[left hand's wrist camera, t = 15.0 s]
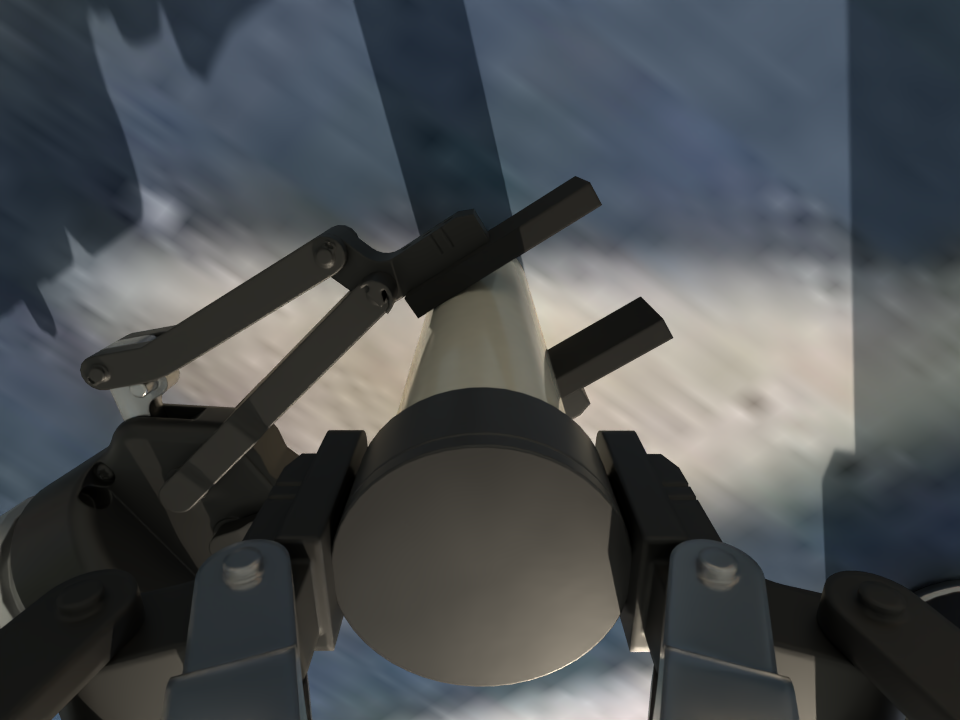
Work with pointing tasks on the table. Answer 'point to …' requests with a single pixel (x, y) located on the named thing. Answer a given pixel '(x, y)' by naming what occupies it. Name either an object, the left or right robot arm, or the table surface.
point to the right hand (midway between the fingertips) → (621, 255)
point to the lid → (481, 540)
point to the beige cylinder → (484, 343)
